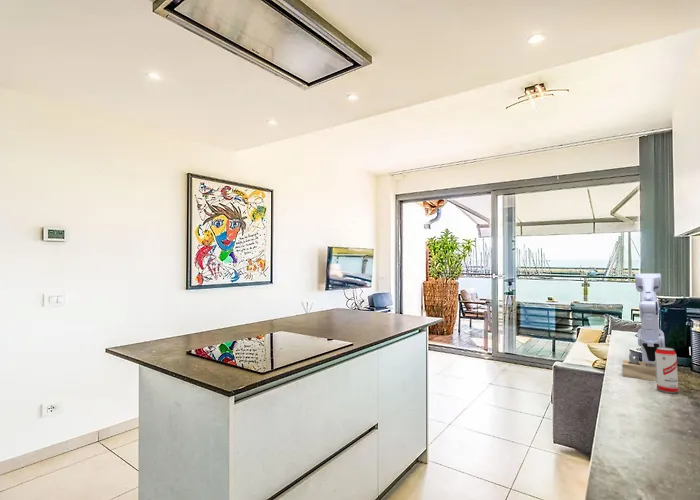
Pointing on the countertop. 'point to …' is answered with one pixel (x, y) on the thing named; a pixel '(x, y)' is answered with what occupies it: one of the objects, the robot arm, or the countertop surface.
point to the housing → (639, 370)
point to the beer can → (666, 370)
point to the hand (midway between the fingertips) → (651, 360)
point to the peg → (634, 360)
